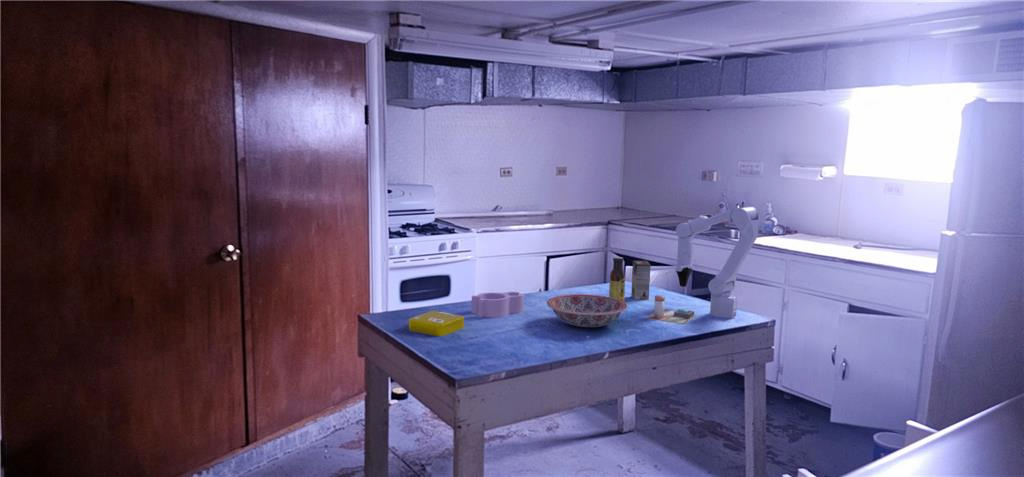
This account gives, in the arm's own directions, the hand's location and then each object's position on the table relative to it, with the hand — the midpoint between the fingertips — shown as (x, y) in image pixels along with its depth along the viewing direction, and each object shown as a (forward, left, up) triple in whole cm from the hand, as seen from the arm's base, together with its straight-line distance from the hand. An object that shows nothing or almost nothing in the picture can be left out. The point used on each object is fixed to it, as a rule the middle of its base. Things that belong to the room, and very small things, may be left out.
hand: (683, 286), depth 264 cm
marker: (+2, +22, -8) cm, 23 cm away
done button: (-5, +14, -9) cm, 17 cm away
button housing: (-5, +14, -8) cm, 17 cm away
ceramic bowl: (+22, +43, -10) cm, 49 cm away
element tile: (+64, +78, -10) cm, 101 cm away
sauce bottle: (+24, +10, -10) cm, 28 cm away
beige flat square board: (-2, +18, -9) cm, 20 cm away
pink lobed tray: (+57, +47, -10) cm, 75 cm away
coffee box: (+20, -6, -10) cm, 23 cm away
